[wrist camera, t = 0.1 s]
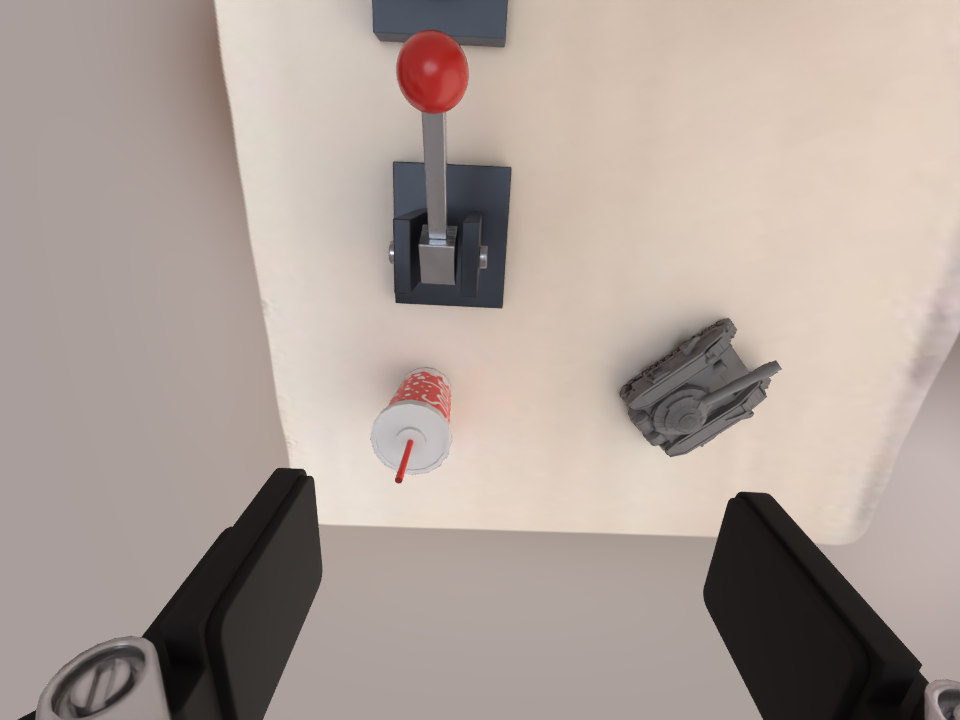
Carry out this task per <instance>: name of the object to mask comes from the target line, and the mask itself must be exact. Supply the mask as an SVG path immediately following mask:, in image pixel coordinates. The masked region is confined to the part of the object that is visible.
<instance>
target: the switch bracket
mask: <svg viewBox="0 0 960 720" xmlns="http://www.w3.org/2000/svg"><path fill="white" fill-rule="evenodd" d="M510 182H511V167H495V166H475V165H454V164H447V198H448V226H457V227H458V267H457V275H456V283H455V285H447V284H427V283H421V282H420V268H419V254H418V243H419V239H420V234H421V230H422V226H423V225H428V221H427V202H426V182H425V163H414V162H393V187H394V219H393V239H394V241H391V242H390V246H389V259H390V263H391V264H394V292H395V297H396V303H406V304H426V305H446V306H466V307H486V308H502V306H503V290H504V275H505V259H506V244H507V228H508V213H509V198H510Z"/></svg>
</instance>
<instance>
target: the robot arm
mask: <svg viewBox="0 0 960 720" xmlns="http://www.w3.org/2000/svg"><path fill="white" fill-rule="evenodd" d="M321 577H322V559H321V548H320V538H319V528H318V516H317V506H316V495H315V485H314V479H313V477H312V476H307V475H306V472H305V470H304V469H291V468H278V469H276V470H275V471H274V472H273V474H272V475H271V476H270V478H269V479H268V480H267V482H266V483H265V484H264V486H263V487H262V488H261V490H260V491H259V492H258V494H257V495H256V496H255V498H254V499H253V501H252V502H251V503H250V504H249V506H248V507H247V508H246V510H245V511H244V512H243V514H242V515H241V516H240V518H239V519H238V520H237V522H236V523H235V524H234V526H233V527H229V528H227V529H225V530H224V531H223V532H222V533H221V534H220V535H219V537H218V538H217V539H216V541H215V542H214V544H213V545H212V546H211V547H210V549H209V550H208V551H207V552H206V554H205V555H204V556H203V558H202V559H201V560H200V562H199V563H198V564H197V566H196V567H195V568H194V569H193V571H192V572H191V573H190V575H189V576H188V577H187V578H186V580H185V581H184V582H183V584H182V585H181V586H180V588H179V589H178V590H177V592H176V593H175V594H174V595H173V597H172V598H171V599H170V601H169V602H168V603H167V605H166V606H165V607H164V608H163V610H162V611H161V612H160V614H159V615H158V616H157V618H156V619H155V620H154V622H153V623H152V624H151V625H150V627H149V628H148V629H147V631H146V632H145V633H144V635H143V636H142V637H134V636H128V637H121V638H114V639H112V640H109V641H106V642H103V643H100V644H97V645H95V646H94V647H92V648H90V649H88V650H86V651H84V652H82V653H80V654H79V655H78V656H77V657H75V658H74V659H72V660H71V661H70V662H69V663H67V664H66V665H64V666H63V667H62V668H61V669H60V670H59V671H58V672H57V673H56V674H55V676H53V677H52V679H50V681H49V682H48V684H47V686H46V687H45V688H44V690H43V692H42V693H41V695H40V698H39V701H38V705H37V709H36V710H35V711H33V712H31V713H30V714H28V715H26V716H24V717H22V718H20V719H18V720H263V718H264V715H265V713H266V711H267V708H268V706H269V704H270V701H271V699H272V696H273V694H274V692H275V689H276V687H277V685H278V682H279V680H280V678H281V675H282V673H283V671H284V668H285V666H286V663H287V661H288V659H289V656H290V654H291V651H292V649H293V647H294V645H295V642H296V640H297V638H298V635H299V633H300V630H301V628H302V626H303V623H304V621H305V619H306V616H307V614H308V612H309V609H310V607H311V605H312V602H313V600H314V598H315V595H316V593H317V590H318V588H319V585H320V582H321ZM703 596H704V602H705V605H706V607H707V609H708V611H709V613H710V615H711V617H712V619H713V621H714V623H715V625H716V627H717V629H718V631H719V633H720V635H721V637H722V639H723V641H724V643H725V645H726V647H727V649H728V651H729V653H730V655H731V657H732V659H733V661H734V663H735V665H736V667H737V669H738V670H739V673H740V675H741V676H742V679H743V680H744V682H745V684H746V686H747V688H748V690H749V692H750V694H751V696H752V698H753V700H754V702H755V704H756V706H757V708H758V710H759V712H760V714H761V716H762V718H763V720H960V682H956V681H952V680H935V681H933V682H931V683H929V682H928V681H927V680H926V679H925V678H924V676H923V675H922V674H921V673H920V672H919V670H920V668H921V666H922V664H921V663H920V662H919V661H918V659H917V658H916V657H915V656H914V655H913V654H912V653H911V652H910V650H909V649H908V648H907V647H906V646H905V645H904V644H903V643H902V641H901V640H900V639H899V638H898V637H897V636H896V635H895V634H894V633H893V631H892V630H891V629H890V628H889V627H888V626H887V625H886V624H885V623H884V621H883V620H882V619H881V618H880V617H879V616H878V615H877V614H876V613H875V611H874V610H873V609H872V608H871V607H870V606H869V605H868V603H867V602H866V601H865V600H864V599H863V598H862V597H861V596H860V594H859V593H858V592H857V591H856V590H855V589H854V588H853V587H852V585H851V584H850V583H849V582H848V581H847V580H846V579H845V578H844V576H843V575H842V574H841V573H840V572H839V571H838V570H837V569H836V568H835V567H834V565H833V564H832V563H831V562H830V561H829V560H828V559H827V558H826V556H825V555H824V554H823V553H822V552H821V551H820V550H819V548H818V547H817V546H816V545H815V544H814V543H813V542H812V541H811V539H810V538H809V537H808V536H807V535H806V534H805V533H804V532H803V531H802V529H801V528H800V527H799V526H798V525H797V524H796V523H795V522H794V520H793V519H792V518H791V517H790V516H789V515H788V514H787V513H786V511H785V510H784V509H783V508H782V507H781V506H780V505H779V504H778V503H777V501H776V500H775V499H774V498H773V497H772V496H771V495H770V494H767V493H756V492H739V493H738V494H737V495H736V497H735V498H731V499H730V500H729V501H728V504H727V507H726V511H725V514H724V518H723V521H722V525H721V528H720V532H719V536H718V539H717V543H716V546H715V550H714V553H713V557H712V560H711V564H710V567H709V571H708V575H707V578H706V582H705V585H704V590H703Z"/></svg>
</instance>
